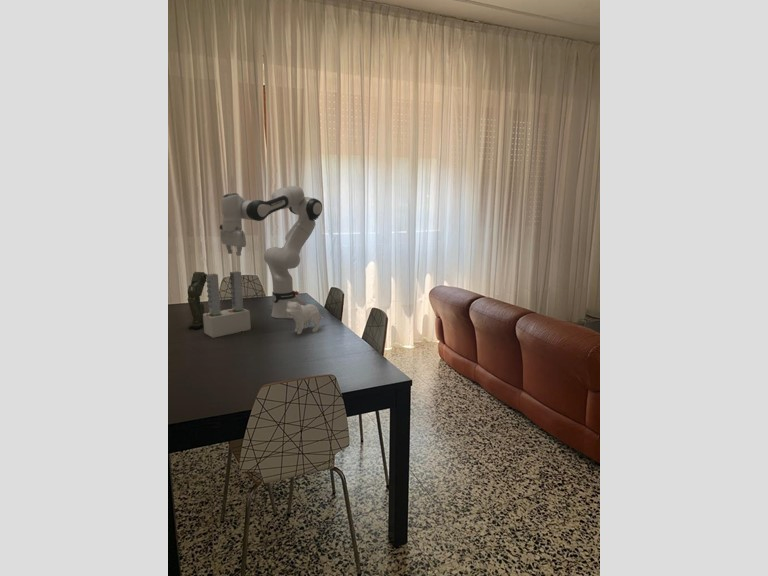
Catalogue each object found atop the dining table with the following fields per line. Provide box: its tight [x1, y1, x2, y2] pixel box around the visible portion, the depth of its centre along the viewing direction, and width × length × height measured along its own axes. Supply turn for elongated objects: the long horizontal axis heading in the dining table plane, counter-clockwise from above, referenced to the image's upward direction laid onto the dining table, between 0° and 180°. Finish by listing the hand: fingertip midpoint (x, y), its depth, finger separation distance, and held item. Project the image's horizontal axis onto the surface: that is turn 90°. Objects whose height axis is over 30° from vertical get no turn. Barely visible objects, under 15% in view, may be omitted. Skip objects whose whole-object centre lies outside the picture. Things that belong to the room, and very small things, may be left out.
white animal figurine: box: [286, 301, 324, 335], centre depth 226 cm, size 25×10×17 cm, turn 141°
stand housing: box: [203, 307, 252, 338], centre depth 225 cm, size 20×10×11 cm, turn 134°
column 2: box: [229, 271, 244, 312], centre depth 226 cm, size 4×4×22 cm
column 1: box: [205, 273, 222, 317], centre depth 217 cm, size 4×4×22 cm
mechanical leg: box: [187, 271, 207, 331], centre depth 231 cm, size 14×7×30 cm, turn 169°
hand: (234, 254), depth 222 cm, fingers open, 8 cm apart
